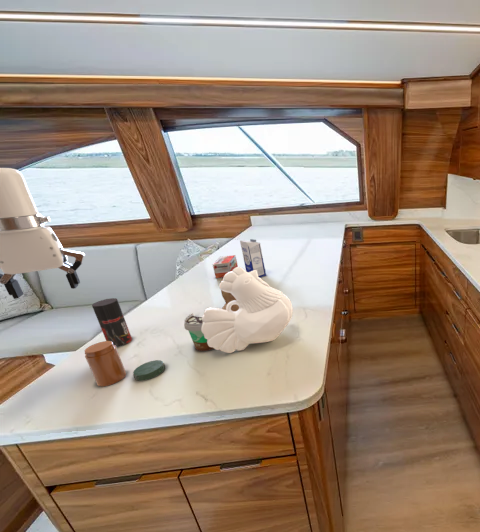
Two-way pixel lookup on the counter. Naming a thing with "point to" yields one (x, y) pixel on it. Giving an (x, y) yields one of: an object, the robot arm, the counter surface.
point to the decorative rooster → (246, 313)
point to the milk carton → (253, 257)
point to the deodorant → (112, 321)
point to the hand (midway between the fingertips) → (48, 291)
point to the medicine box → (224, 265)
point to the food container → (196, 332)
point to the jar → (105, 363)
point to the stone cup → (229, 300)
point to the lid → (149, 370)
